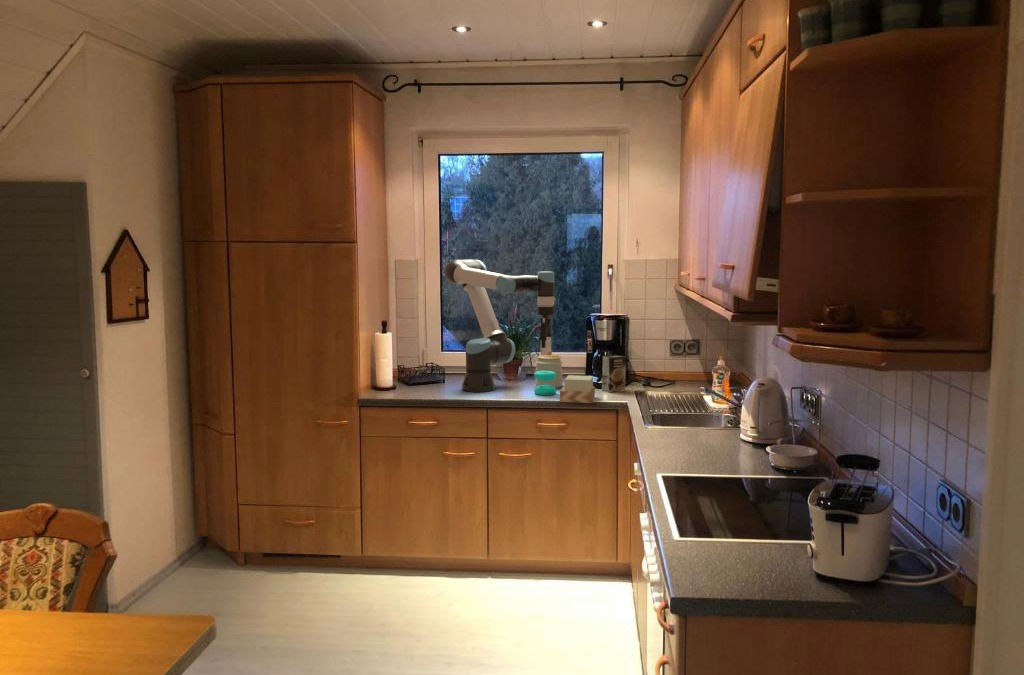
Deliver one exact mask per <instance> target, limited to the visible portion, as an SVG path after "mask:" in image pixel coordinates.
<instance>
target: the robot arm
mask: <svg viewBox="0 0 1024 675" xmlns="http://www.w3.org/2000/svg"><path fill="white" fill-rule="evenodd" d="M443 273H444V274H443V275H444V278H445V279H446V281H447V282H449V283H450V284H454V285H455V284H456V285H461V287H462V289H463V291H465V292H467V293H468V296H469V300H470V303H471V304H472V305H471V306H472V307H473V310H474V313H475V316H476V318H477V322H478V324H479V328H480V330H481V333H482V336H483V337H479V338H474V339H473V338H472V339H469V341H467V342H466V345H465V376H464V378H463V381H462V386H461V390H462V389H463V390H462V391H464V390H466V391H465V392H469V391H473V392H474V393H484V392H485V391H488V392H492V390H493V391H495V390H494V389H495V388H496V387H495V386H496V385H495V381H494V378H493V376H492V366H495V365H503V364H507V363H509V362H511V361H512V360H513V359H514V357H515V355H516V345H515V343H514V341H513V340H511V339H510V338H507V336H506V332H504V331H502V330H501V327H500V325H499V323H498V320H497V317H496V313H495V312H494V309H493V306H492V303H491V301H490V297H489V294H488V292H487V290H486V289H490V290H493V291H498V292H499V293H501V294H507V295H508V294H518V293H519V294H520V293H521V294H522V293H537V299H536V300H537V315H538V316H542V317H541V318H540V332H539V338H538V341H540V354H541V355H547V351H552V337H553V336H554V335H553V332H552V317H551V316H554V315H555V301H557V300H556V298H555V273H554V272H553V271H538V272H537V275H529V274H528V275H527V274H523V275H508V274H504V273H503V274H502V273H497V272H493V271H492V272H491V271H489V270H488V269H487V266H486V265H485V264H484V262H482V261H481V260H479V259H473V258H470V259H469V258H468V259H451V260H450V261H449V262H448V263H446V265H445V267H444V269H443ZM473 392H472V393H473ZM485 393H486V392H485Z"/></svg>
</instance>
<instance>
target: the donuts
mask: <svg viewBox="0 0 1024 675" xmlns="http://www.w3.org/2000/svg"><path fill="white" fill-rule="evenodd" d="M533 376H534V378H535V380H536V379H538V380H541V381H550V380H553V379H555V378H556V373H555V372H553V371H537V372H536V371H535V372H534V375H533ZM533 392H534V394H535V395H538V394H539V395H538V396H551V394H553V395H555V394H556V393H557V388H555V387H553V386H550V385H540V386H535V388H534V390H533Z"/></svg>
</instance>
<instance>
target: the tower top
mask: <svg viewBox="0 0 1024 675" xmlns="http://www.w3.org/2000/svg"><path fill="white" fill-rule="evenodd" d="M564 386H565V391H582V392H590V391H591V390H592V388H593V387H594V376H593V375H574V374H571V375H566V377H565V378H564Z"/></svg>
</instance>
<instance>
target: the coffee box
mask: <svg viewBox="0 0 1024 675" xmlns="http://www.w3.org/2000/svg"><path fill="white" fill-rule="evenodd" d="M626 366H627V357H626V356H624V355H618V354H617V355H603V356H602V369H601V370H602V374H601V375H602V376H601V378H602V379H601V390H602V391H603V390H604V392H607V391H608V393H614V392H613V391H618V392H623V391H622V390H625V391H626Z"/></svg>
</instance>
